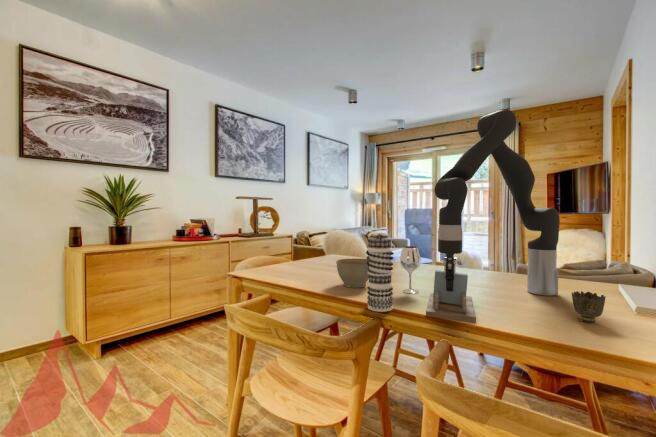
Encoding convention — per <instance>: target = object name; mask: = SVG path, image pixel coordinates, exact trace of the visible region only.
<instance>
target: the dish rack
mask: <svg viewBox="0 0 656 437" xmlns="http://www.w3.org/2000/svg"><path fill="white" fill-rule="evenodd" d="M433 293H434V292H430V294H429V297H428V301H427V305H426V309H425V317H431V318H439V319H440V318H441V319H447V320H457V321H458V320H459V321H466V322H473V323H476V322H477V315H476V309H475V306H474V302H473V298H472V296H467V292H466V293H462V305H456V304H450V303H444V302H439V291H438V290H436V295H435V301H433Z"/></svg>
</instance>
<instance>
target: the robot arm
mask: <svg viewBox="0 0 656 437" xmlns="http://www.w3.org/2000/svg"><path fill="white" fill-rule="evenodd" d="M476 125H477V127H476V128H477V132H478V135H479V137H480V139H479V140H478V141H477V142H476V143H475V144H473V145H472V146H471V147H469V148H468V149H467V150H465V152H464V153H463V154H462V155H461V157H459V158H458V160H457V162H456V163H455V164H454V166H453V167H452V168H451V169H449V170H448V171H447V172H445V174H443V175H442V176H441V177H440V178H439V179H438V181H437V182H436V183H435V185H434V195H435V196H436V198H437V199H439V200H443V201H447V203H446V205H445V206H443V207H441V208H439V212H438V230H437V251H438V253H441V254H445V257H443V262H442V263H443V264H444V265H443V268H444V269H443V271H444V272H445V273H446V276H445V279H446V291H451V292H452V291H453V280H454V273H456V265H457V257H454V256H455V255H459V254H461V253H463V227H462V226H463V225H462V224H463V223H462V219H463V218H462V217H463V215H462V214H463V210H464V207H465V204H466V199H467V195H468V185H467V183H466V182H468V181H470V180H472V178H473V177H474V176H475V175H476V173H477V172H478V170H479V169H480V167H481V166H482V165H483V163H484V162H485V161H486V160H487V158H488V157H489V156H490V155H491V156H492V158H493V159H494V161H495V163H496V166H497V167H498V169H499V171H500V173H501V176H502V178H503V180H504V182H505V184H506V185H507V188H508V190H509V192H510V193H511V195H512V197H513V200H514V203H515V205H516V208H517V211H518V213H519V217H520V218H521V222H522V224H523V226H524V227H525V228H526V229H527V230H528V231H531V232H540V235H539V237H537V238H534V239H531V240H529V241H528V242H527V279H526V280H527V281H526V282H527V292H529V293H531V294H533V295H539V296H549V297H550V296H559V270H558V269H557V263H558V262H557V260H558V259H557V258H558V257H557V252H558V251H557V250H558V243H559V239H560V238H559V237H560V236H559V235H560V224H561V219H560V213H559V211H558V210H557V209H556V208H553V207H536V206H535V205H534V204H533V201H532V197H531V196H532V192H533V190H534V186H535V183H536V182H535V181H536V179H535V178H536V177H535V174H534V171H533V170H532V168H531V165H530V163H529V162H528V160H527V159H525V158H524V157H523V156H522V155H520V154H519V153H518V152H516V151H514V150H513V149H511V148H510V147H509V146H508V144H506V142H505V140H506V139H507V138H509V136H510V135H511V134H512V133H513V132H514V131H515V129H516V126H517V117H516V115H515V113H514V111H512V110H510V109H500V110H497V111H494V112H491V113H489V114H486V115H482V116H481V117H480V118H479V119H478V121H477V124H476ZM447 274H452V276H451V275H447Z"/></svg>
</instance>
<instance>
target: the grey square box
mask: <svg viewBox="0 0 656 437" xmlns="http://www.w3.org/2000/svg"><path fill="white" fill-rule="evenodd" d="M447 275H451V276H452V274H447ZM445 276H446V273H445V272H444V270H437V269H436V270H435V271H434V282H433V292H432V293H433V301H435V295H436V290H438V291H439V302H444V303H450V304H456V305H462V293H466V294H467V291H468V279H469V276H468V274H467V273H462V272H461V273H460V272H455V273H454V280H453V291H452V292H451V291H446V279H445Z"/></svg>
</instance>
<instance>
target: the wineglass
mask: <svg viewBox="0 0 656 437" xmlns="http://www.w3.org/2000/svg"><path fill="white" fill-rule="evenodd" d="M421 259H422V258H421V255H420V250H419V247H418V246H414V245H413V246H411V245H410V246H409V245H408V246H407V245H405V246H403V247H402V249H401V252H400V257H399V264H400V266H401V267H402V268H403V269H404V270H405V271H407V273H408V276H409V277H408V284H409V285H408V288H405V289H404V288H403V289H402V290H401V291H402V292H403V293H405V294H410V295H411V294H412V295H415V294H416V295H417V294H419V290H417V289H412V274H413V272H415V271H416V270H417V269H418V268H419V267H420V265H421V262H422V260H421Z"/></svg>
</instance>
